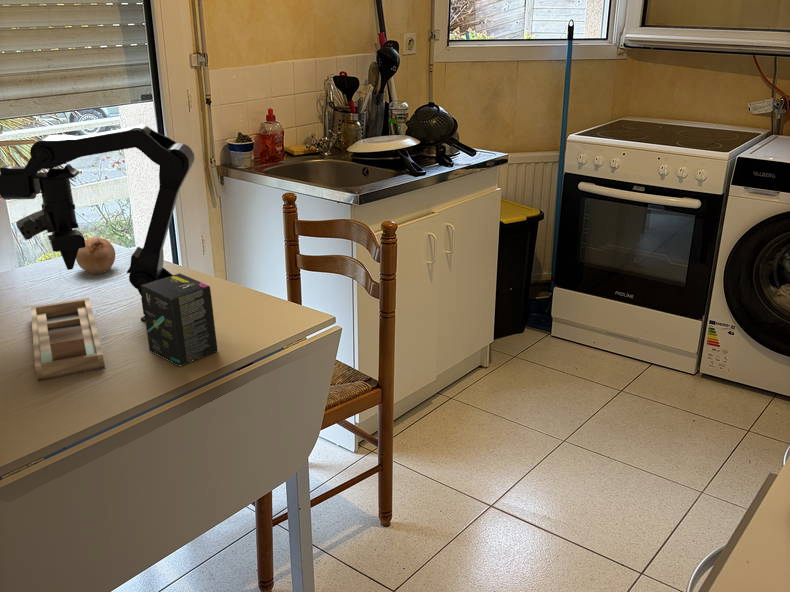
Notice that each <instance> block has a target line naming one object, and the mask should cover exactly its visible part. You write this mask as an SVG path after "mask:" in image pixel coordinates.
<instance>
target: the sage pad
mask: <svg viewBox="0 0 790 592" xmlns="http://www.w3.org/2000/svg"><path fill="white" fill-rule="evenodd" d="M85 349H86V354H87V355H89V354H94V353H96V349H95V345H94V343H89V344H85ZM40 353H41V363H45V362H50V361H53V358H52V352H51V350H49V351H43V352H40Z"/></svg>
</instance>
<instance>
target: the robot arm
mask: <svg viewBox="0 0 790 592" xmlns="http://www.w3.org/2000/svg"><path fill="white" fill-rule="evenodd" d="M133 148H135V149H137V150H139V151H140V152H142V153H143V154H144V155H145V156H146V157H147V158H148V160H150V161H152V162H153V163H155V164H156V165H157V166H159V169H158V170H159V171H158V172H159V173H158V179H159V180H158V181H159V189H158V192H157V196H156V200H155V203H154V207H153V211H152V215H151V218H150V222H149V227H148V230H147V233H146V237H145V240H144V244H143V247H140V246H137V247H136V249H135V250H134V252H133V253H132V254H131V256H130V266H129V268H128V269H127V271H126V274H128V281H129V283H130V284H131V285H132V286H133V288H135V289H137V291H138V293H139V295H140V297H141V298H140V299H141V306H142V314H143V316H141V317H140V322H141V321H142V322H146V320H145V313H144V306H143V298H142V291H141V285H143V284H147V283H150V282H154V281H157V280H159V279H163V278H166V277H169V276H173V275H174V274H172V273H171V272H170V271H168V270H167V269H166V268H164V246H165V243H166V239H167V236H168V231H169V228H170V224H171V220H172V218H173V213H174V211H175V207H176V203H177V199H178V197H179V196H178V195H179V192H180V189H181V187H182V185H183V183H184V181H185V180H186V177H187V175H188V174H189V173H190V170H191V168H192V167H193V165H194V161H195V153H194V152H193V150H192V148H191V147H190V146H189V145H187V144H186V143H181V142H176V141H175V140H173V139H171V138H170V137H168V136H165V135H164V134H161V133H160V132H158V131H157V132H156V131H155V130H153V129H152V128H150V127H149V126H147V125H145V124H143V123H142V124H137V125H134V126H131V127H124V128H118V129H114V130H113V129H112V130H108V131H102V132H96V133H91V134H83V135H70V134H48V135H45V136H43V137H42V138H41V139H38V140H37V141H36V142H35V141H34V143H33V144H32V145H31V147H30V150H29V155H30V158H29V160H28V161H27V163H26V165H24V166H23V165H22V166H20V165H19V166H18V165H17V166H14V165H3V166H1V167H0V197H1V198H2V199H3V200H5V201H7V200H34V199H36V197H37V195H40V194H41V199H42V203H41V204H40V205H41V210H39V211H35V212H33V213H31V214H29V215H26V216H24V217H23V218H21V219H19V220H17V221H15V224H16V228H17V229H18V231H19V232H20V234H21V235H22V237H23V239H24V240H25V241H28V240H31V239H33V237H34V236H37V235H38V234H41V233H43V232H45V231H47V233H49V234H50V233H51V234H50V235H47V237H48V240H49V244H50V246H51V250H52V251H53V252H55V253H56V252H57V253H58V252H60V254H61V257H62V259H63V261H64V265H65V267H66V269H67V270H73V269H74V267H75V263H76V256H77V253H78V250H79V248H84V247H86V245H85V240H86V239H85V236H84V234H83V233H82V232H81V231H79V230H78V229H79V224H78V220H77V217H76V216H77V215H76V211H75V210H76V204H75V203H74V202H75V201H74V199H73V191H72V186H71V180H70V179H74V178H76V177H77V176H78V175H79V174H80V171H79V170H78V169H76V168H75V167H73V166H72V165H71V164H70V162H71V161H74V160H76V159H79V158H83V157H86V156H93V155H99V154H106V153H111V152H116V151H123V150H127V149H133ZM65 164H66V165H65ZM62 165H65V166H64V167H63V168H61V167H59V166H62ZM56 167H59V168H56ZM42 170H48V171H47V172H46V171H44V172H40V171H42Z"/></svg>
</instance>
